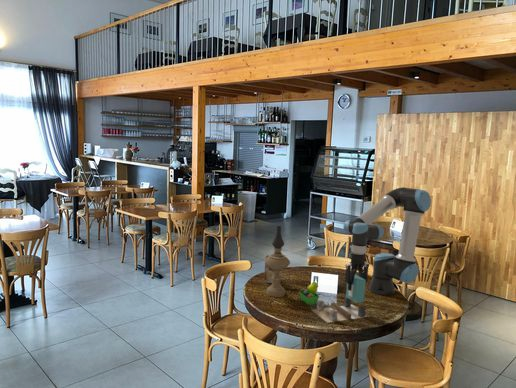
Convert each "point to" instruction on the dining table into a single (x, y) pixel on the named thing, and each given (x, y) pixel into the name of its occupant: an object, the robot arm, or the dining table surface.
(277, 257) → the oil lamp
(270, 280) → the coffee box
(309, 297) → the fruit basket
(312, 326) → the dining table surface
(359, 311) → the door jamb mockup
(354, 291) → the teal box
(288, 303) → the dining table surface
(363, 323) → the dining table surface
